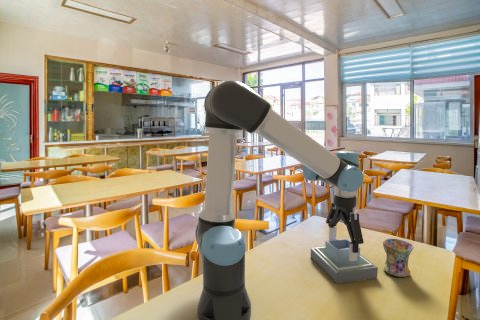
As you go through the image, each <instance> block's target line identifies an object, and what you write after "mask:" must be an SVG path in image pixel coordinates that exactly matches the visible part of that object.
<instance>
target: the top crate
mask: <svg viewBox="0 0 480 320" xmlns="http://www.w3.org/2000/svg"><path fill="white" fill-rule="evenodd" d="M318 247H319V248H316V247H314V248H315V250H316V251H317V252H318V253H319V254H320V255H321V256H322V257H323V258H324V259H325V260H326V261H327V262H328V263H329V264H330V265H331V266H332V267H333V268H334V269H335V270H336V271H343V270H351V269H358V268H366V267H372V264H371V263H372V262H371V261H370V262H371V263H370V262H368V261H367V260H368V259H367V258H366V259H367V260H366V259H364V258H363V257H364V256H363V255H362V256H363V257H362V256H360V259H359V265H358V266H350V267H342V268H338V267H337V266H336V265H335V264H334V263H332V262H331V261H330V260H329V259H328V258H327V257H326V256H325V246H318Z"/></svg>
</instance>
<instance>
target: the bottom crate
mask: <svg viewBox="0 0 480 320" xmlns="http://www.w3.org/2000/svg"><path fill="white" fill-rule="evenodd" d="M319 247H320V246H318V247H317V246H316V247H310V259H311V260H312V262H314V263H315V264H316V265H317V266H318V267H319V268H320V269H321V270H322V272H324V274H326V276H327V277H329V279H330V280H331V281H332V282H333V283H334V284H335V285H339V284H346V283H352V282H353V283H354V282H360V281H367V280H374V279H375V280H376V279H377V278H378V273H379V272H378V269H379V268H378V265H376V264H374V263H373V262H372V261H370V260H369V259H368V258H366V256H365V257H364V255H362V254H361V253H360V256H362V257H363V258H364V259H366V260H367V261H368V262H370V263H371V264H372V267H366V268H358V269H351V270H343V271H336V270H335V269H334V268H333V267H332V266H331V265H330V264H329V263H328V262H327V261H326V260H325V259H324V258H323V257H322V256H321V255H320V254H319V253H318V252H317V251H316V250H315V248H319Z"/></svg>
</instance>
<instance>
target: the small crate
mask: <svg viewBox="0 0 480 320" xmlns="http://www.w3.org/2000/svg"><path fill="white" fill-rule="evenodd" d="M324 242H325V246H324V247H325V256H326V257H327V258H328V259H329V260H330V261H331V262H332V263H334V264H335V265H336V266H337V267H338V268H342V267H350V266H358V265H359V259H360V254H361V247H360V246H359V247H358V254H357V261H349V248H350V242H351V239H349V238H340V239H337V238H336V240H329V239H328V240H325V241H324Z"/></svg>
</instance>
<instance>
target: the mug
mask: <svg viewBox="0 0 480 320" xmlns="http://www.w3.org/2000/svg"><path fill="white" fill-rule="evenodd" d="M382 245H383V250H384V251H385V254H386V260H385V262H384V264H383V265H382V269H383V271H384V272H386V273H387V274H389V275H391V276H394V277H399V278H406V277H408V276H410V274H411V271H410V269H409V257H410V255H411V254H412V251H413V250H414V245H413V244H412V243H410V242H409V241H406V240H403V239H398V238H386V239H384V240H383V242H382Z"/></svg>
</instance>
